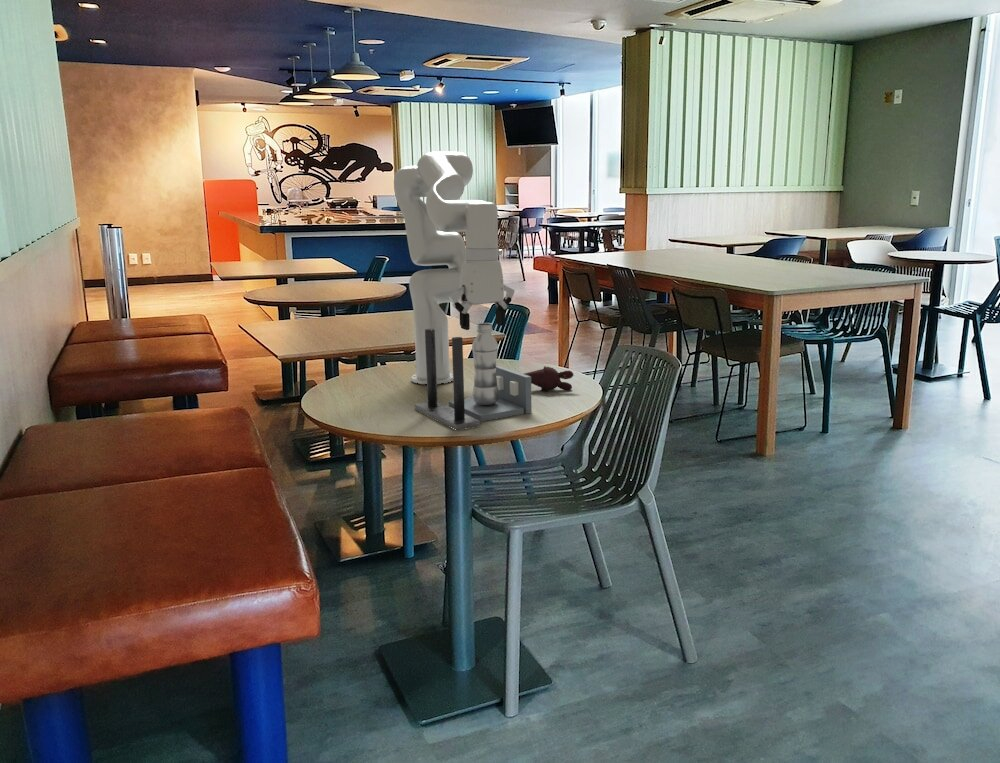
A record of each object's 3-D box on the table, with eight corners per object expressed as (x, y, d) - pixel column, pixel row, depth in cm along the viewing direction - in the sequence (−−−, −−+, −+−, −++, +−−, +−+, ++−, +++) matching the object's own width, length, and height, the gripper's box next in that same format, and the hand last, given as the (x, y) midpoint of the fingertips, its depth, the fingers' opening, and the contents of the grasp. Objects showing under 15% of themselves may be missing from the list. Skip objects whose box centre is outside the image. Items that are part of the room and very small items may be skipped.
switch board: (449, 407, 200) (447, 372, 198) (497, 399, 207) (497, 365, 205) (480, 421, 187) (479, 384, 185) (531, 412, 194) (531, 376, 192)
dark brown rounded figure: (516, 370, 211) (573, 376, 209) (519, 358, 217) (574, 363, 216) (515, 393, 214) (571, 399, 213) (518, 380, 220) (572, 385, 219)
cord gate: (414, 409, 199) (411, 328, 194) (436, 406, 202) (433, 326, 197) (456, 431, 181) (453, 341, 176) (479, 426, 184) (477, 339, 179)
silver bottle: (501, 401, 199) (500, 322, 194) (495, 408, 192) (494, 326, 188) (476, 400, 200) (475, 321, 196) (469, 407, 194) (468, 326, 189)
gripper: (505, 252, 195) (505, 321, 200) (441, 256, 187) (443, 328, 191) (521, 254, 189) (521, 325, 194) (457, 259, 181) (458, 333, 185)
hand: (482, 327), depth 192 cm, fingers open, 9 cm apart
